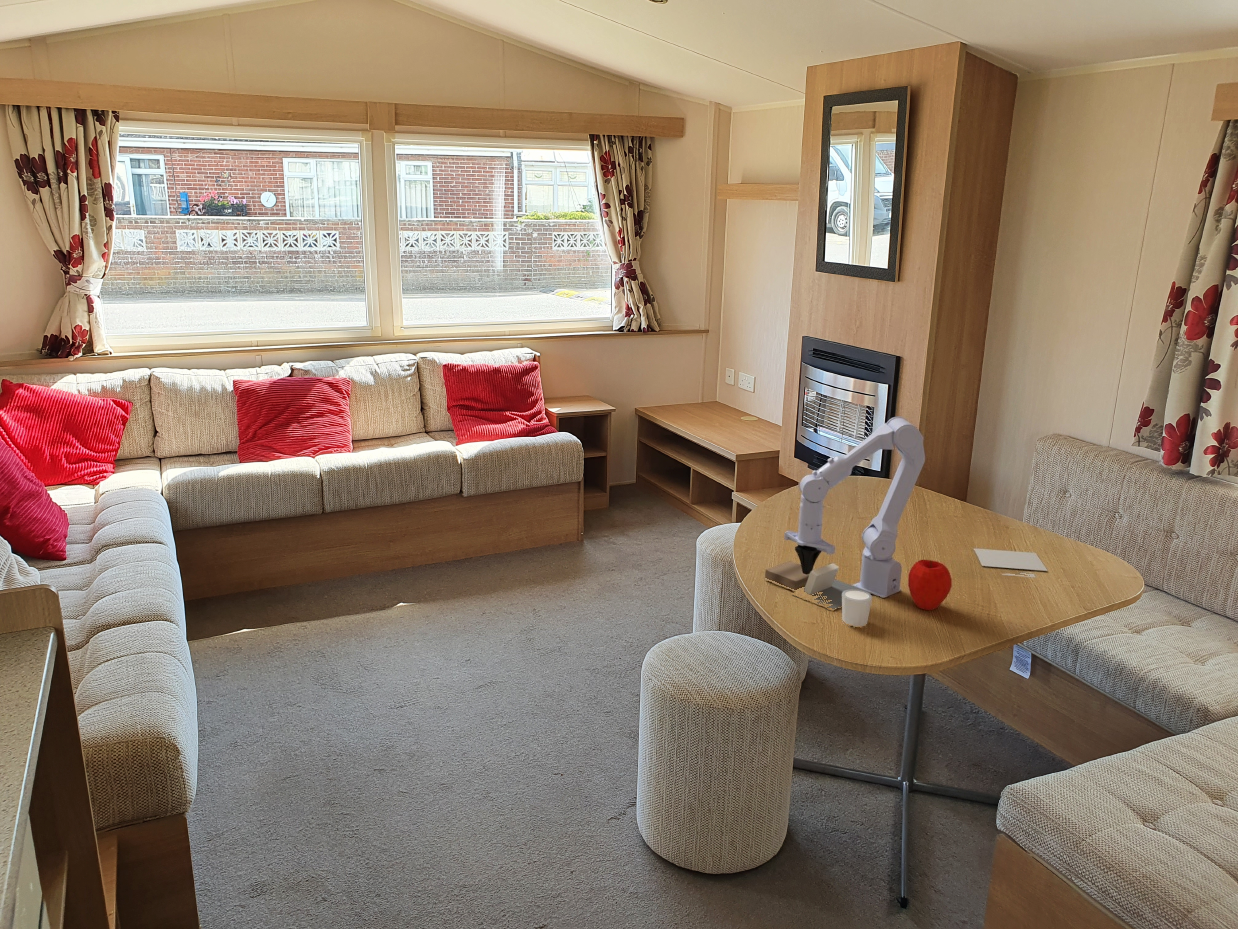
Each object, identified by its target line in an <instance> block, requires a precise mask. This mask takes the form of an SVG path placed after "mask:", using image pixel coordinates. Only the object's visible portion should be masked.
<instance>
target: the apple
mask: <svg viewBox="0 0 1238 929" xmlns="http://www.w3.org/2000/svg"><path fill="white" fill-rule="evenodd" d="M907 580H908V581H907V582H908V584H907V585H908V590H909V593H910V596H911V598H912V601H913V602H914V604H915V605H916V606H917V607H918V608H920V609H922V610H927V611H933V610H936V609H938V608H939V607H940V605H941V604H942V603H944V601H945V600H946V599H947V597H948V595H949V593H950V592H951V589H952V582H953V580H952V577H951V572H950V571H949V569H948V567H947V566H946V565H945V564H943V563H942V562H939V561H936V560H932V559H920V560H918V561H916V562H915V563H914V564H913V566H912V567H911V568H910V570H909V572H908V579H907Z"/></svg>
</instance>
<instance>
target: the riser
mask: <svg viewBox="0 0 1238 929" xmlns="http://www.w3.org/2000/svg"><path fill="white" fill-rule="evenodd" d="M813 570H815V568H813V569H812V571H813ZM764 574H765V575H764V579H765V578H767V579H769V580H772V581H775V582H777V583H779V584H781V585H784V586H786V587H789V588H791V589H794V590H797V589H799V588H802V587H805V586H806V583H807V580H808V578H809V575H810V574H807V575H806V574H803V572H802V567H801V563H798V562H794V561H791V560H788V561H786V562H783V563H780V564H779V565H778V564H777V565H774V566H772V567H769V568H766V569H765V573H764Z"/></svg>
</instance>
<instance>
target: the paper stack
mask: <svg viewBox="0 0 1238 929" xmlns="http://www.w3.org/2000/svg"><path fill="white" fill-rule="evenodd" d="M973 550H974V552H975V554H976V556H977V559H978V560H979V563H980V564H981V566H982V567H993V568H1006V569H1017V570H1018V569H1019V570H1029V571H1030V570H1031V572H1029V573H1033V571H1044V572H1048V569H1047V568H1046V566H1045V564H1044V563H1043V562H1042V560H1041V559H1040V558H1039V556H1038V554H1037V553H1036V552H1025V551H1012V550H1000V549H999V550H998V549H989V548H988V549H987V548H973ZM1019 573H1020V574H1025V575H1028V576H1024V575H1015V574H1010V573H1001V574H1002V575H1001V576H1015V577H1024V578H1025V577H1026V578H1036V576H1035V574H1034V573H1033V574H1026V573H1027V572H1019ZM1029 575H1030V576H1029Z"/></svg>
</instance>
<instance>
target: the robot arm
mask: <svg viewBox="0 0 1238 929" xmlns="http://www.w3.org/2000/svg"><path fill="white" fill-rule="evenodd" d="M924 439H925V438H924V435H922V433H921V432H920V430H919V429H918V428H917V427H916V426H915V425H914V424H912V423H910V421H908V420H907V419H906V418H905V417H903V416H894V417H891V418H890V419H889V420H888V421H887V422H884V423H882V424H881V425H879V426H878V428H876V430H874V431H873V432H872V433H871V434H869V435H868V436H867V437H866V438H865V439H863V441H860V443H859V444H858V445H856V446H855V447H854V448H853V449H852V450H850V451H849V452H848V453H846V454H845V455H843V456H839V455H836V456H835V457H832V456H831V457H830V458H828V459H827V462H826V463H825V464H824V465H823V466H821V467H819V468H818V469H817V470H815V469H814V470H813V471H812V472H811V474H807V475H805V476H804V477H802V479H801V481H800V482H799V483H798V489H799V491H800V492H801V495H800V496H801V497H800V503H799V518H798V529H797V531H798V532H796V531H791V530H787V531H785V532H784V535H783V536H784V537H783V538H784V540H785V541H791V542H793V543H794V542H795V543H796V544H797V546H795V547H794V550H795V552H796V554H797V557H798V559H799V562H800V563H799V564H800V565H801V567H802V572H803V574H806V575H807V574H810V572H811V571H812V569H814V566H815V564H816V562H817V559H818V558H819V556H820V554H821V553H823V552H824V553H826V555H828V556H829V555H830V556H831V555H833V554H835V553H836V546H835V545H833V544H831V543H829V542H828V541H826V540H824V539H822V530H823V517H824V516H823V514H824V500H825V499H826V497H827V496H828V492H829V491H830V490H832V489H833V488H834V487H836V486H837V485H838V484H840V483H841V482H843V481H844V480H846V479H847V478H848V477H849V476H851V475H852V471H853V468H854V467H855V466H857V465H858V464H860V463H861V462H863V461H865V460H866V459H868V458H869V457H870V456H872V455H874V454H875V453H876V452H878V451H880V450H895V448H896V450H897V452H898V454H899V456H900V458H901V460H900V462H899V465H898V466H897V470H896V472H895V474H894V477H892V478H893V479H892V481H891V484H890V485H889V488H888V490H887V492H886V496H885V497H884V499H883V503H882V504H881V507H880V509H879V511H878V514H877V516H875V517H873V518H872V520H871V521H870V523H869V525H868V526H867V527H866V528H864V530H863V531H862V534H861V540H862V542H863V544H864V545H865V547H864V549H863V550H862V555H861V556H862V557H861V568H860V569H861V570H860V577H859V578H860V579H859V580H860V581H858V582H857V583H853V584H852V586H855V587H858V588H860V589H863V590H866V591H869V592H871V593H872V595H874V596H877V597H879V596H880V598H882V599H884V598H888V597H890V596H892V595H894V594H896V593H898V592H901V591H902V588H901V579H902V564H901V563H900V562H899V561H897V560H895V559H894V557H893V556H894V554H895V553H896V548H897V547H896V540H897V538H898V524H899V522H900V520H901V518H902V515H903V512H904V510H905V508H906V507H907V506H906V505H907V503H908V501H909V499H910V496H911V495H912V492H913V489H914V487H915V485H916V482H917V481H918V477H919V475H920V473H921V472H922V469H923V467H924V464H925V463H926V455H925V448H924Z"/></svg>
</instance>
